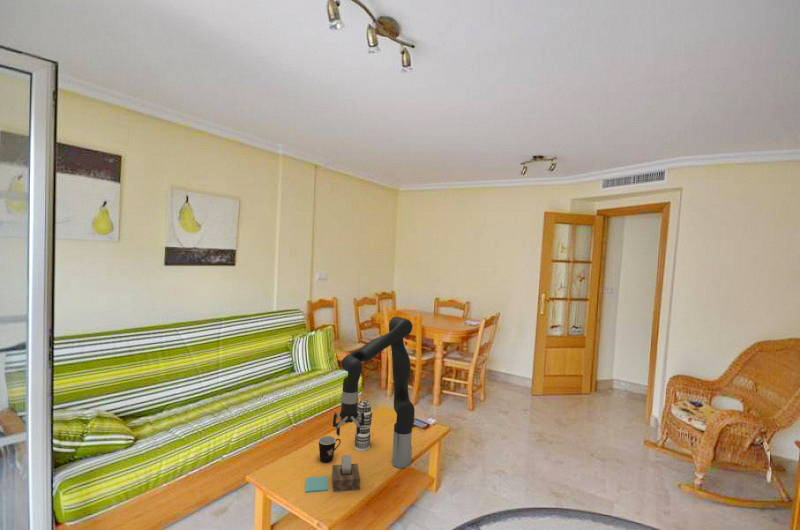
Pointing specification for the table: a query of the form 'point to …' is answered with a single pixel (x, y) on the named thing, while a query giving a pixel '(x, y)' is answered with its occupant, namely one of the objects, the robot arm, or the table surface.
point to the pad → (316, 484)
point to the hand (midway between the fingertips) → (347, 434)
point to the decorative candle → (364, 436)
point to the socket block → (345, 478)
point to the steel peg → (346, 465)
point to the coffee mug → (327, 448)
